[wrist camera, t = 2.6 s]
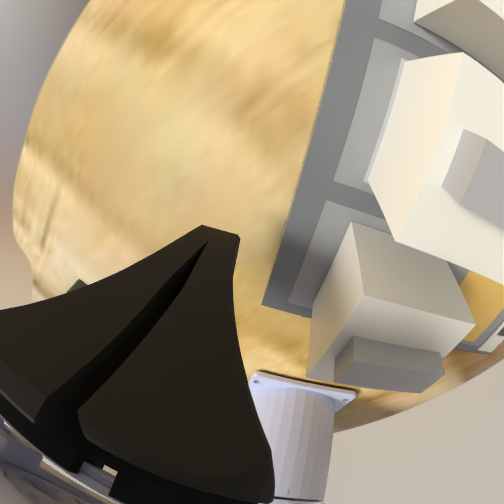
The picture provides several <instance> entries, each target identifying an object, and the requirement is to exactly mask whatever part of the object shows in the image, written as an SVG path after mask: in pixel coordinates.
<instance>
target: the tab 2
mask: <svg viewBox="0 0 504 504" xmlns="http://www.w3.org/2000/svg"><path fill="white" fill-rule="evenodd" d="M368 182H369V184H370V186H371V188H372V191H373V193H374V195H375V197H376V199H377V201H378V203H379V205H380V207H381V210H382V212H383V214H384V216H385V219H386V221H387V223H388V226H389V228H390V230H391V233H392V235H393V238H394V240H395V241H396V242H399V243H401V244H404V245H407V246H410V247H412V248H415V249H418V250H420V251H423V252H426V253H428V254H431V255H434V256H436V257H439V258H441V259H444V260H446V261H449V262H451V263H454V264H456V265H459V266H461V267H463V268H466V269H468V270H471V271H473V272H475V273H478V274H480V275H482V276H485V277H487V278H489V279H491V280H494V281H496V282H498V283H500V284H503V285H504V83H503V82H502V81H501V80H500V79H499V78H497V77H496V76H495V75H494V74H492V73H491V72H490V71H489V70H487V69H486V68H485V67H483V66H482V65H481V64H479V63H478V62H477V61H475V60H474V59H472V58H471V57H470V56H468V55H467V54H465V53H464V52H460V53H452V54H444V55H438V56H432V57H426V58H421V59H416V60H411V61H406V62H404V66H403V70H402V74H401V78H400V82H399V86H398V89H397V93H396V96H395V100H394V103H393V106H392V110H391V113H390V116H389V119H388V123H387V126H386V129H385V132H384V135H383V138H382V141H381V144H380V147H379V150H378V153H377V155H376V158H375V161H374V164H373V166H372V169H371V172H370V175H369V177H368Z"/></svg>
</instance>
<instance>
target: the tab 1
mask: <svg viewBox="0 0 504 504" xmlns="http://www.w3.org/2000/svg"><path fill="white" fill-rule="evenodd" d="M413 22H414V23H416V24H418V25H420V26H422V27H424V28H426V29H428V30H430V31H432V32H434V33H435V34H437V35H439V36H441V37H442V38H444V39H446V40H447V41H449V42H451V43H452V44H454V45H456V46H457V47H459V48H460V49H462V50H463V51H465V52H466V53H468V54H469V55H471V56H472V57H473V58H475V59H476V60H478V61H479V62H480V63H482V64H483V65H484V66H486V67H487V68H488V69H489V70H491V71H492V72H493V73H495V74H496V75H497V76H498V77H499V78H501V79H502V80H503V81H504V0H417V3H416V9H415V15H414V21H413Z"/></svg>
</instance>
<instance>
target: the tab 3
mask: <svg viewBox="0 0 504 504" xmlns="http://www.w3.org/2000/svg"><path fill="white" fill-rule="evenodd" d="M475 325H476V324H475V321H474V319H473V316H472V314H471V312H470V309H469V307H468V305H467V302H466V300H465V298H464V296H463V293H462V291H461V289H460V287H459V285H458V283H457V281H456V279H455V277H454V275H453V273H452V271H451V269H450V267H449V265H448V263H447V261H446V260H444V259H441V258H439V257H436V256H434V255H431V254H428V253H426V252H423V251H420V250H418V249H415V248H412V247H410V246H407V245H404V244H401V243H399V242H396V241H395V240H394V238H393V235H391V234H388V233H385V232H382V231H379V230H377V229H374V228H371V227H368V226H365V225H362V224H359V223H356V222H353V221H351V222H350V225H349V227H348V229H347V232H346V234H345V236H344V238H343V241H342V243H341V245H340V247H339V250H338V252H337V254H336V256H335V259H334V261H333V263H332V265H331V267H330V269H329V271H328V273H327V276H326V278H325V280H324V282H323V284H322V286H321V288H320V290H319V292H318V294H317V296H316V298H315V300H314V302H313V308H312V321H311V332H310V343H309V353H308V362H307V371H306V378H311V379H316V380H321V381H326V382H331V383H337V384H343V385H349V386H355V387H362V388H369V389H377V390H385V391H395V392H411V393H422V392H423V391H424V390H426V389H427V388H428V387H429V386H431V385H432V384H433V383H434V382H436V381H437V380H438V379H439V378H441V377H442V376H443V375H444V374H445V373H444V368H443V364H442V359H443V358H444V357H445V356H446V355H447V354H448V353H449V352H451V351H452V350H453V349H454V348H455V347H456V346H457V345H458V344H459V342H460V341H461V340H462V339H463V338H464V337H465V336H466V335H467V334H468V333H469V332H470V331H471V330H472V329H473V328H474V326H475Z"/></svg>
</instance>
